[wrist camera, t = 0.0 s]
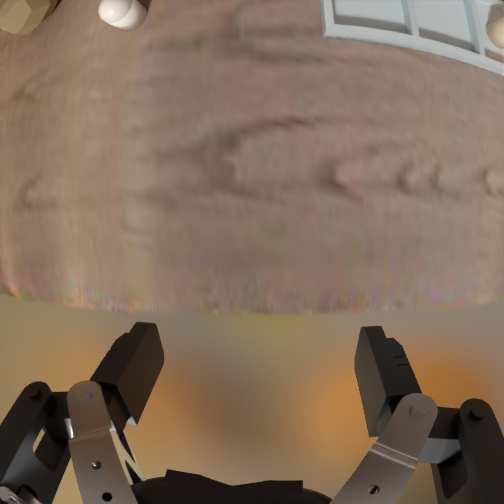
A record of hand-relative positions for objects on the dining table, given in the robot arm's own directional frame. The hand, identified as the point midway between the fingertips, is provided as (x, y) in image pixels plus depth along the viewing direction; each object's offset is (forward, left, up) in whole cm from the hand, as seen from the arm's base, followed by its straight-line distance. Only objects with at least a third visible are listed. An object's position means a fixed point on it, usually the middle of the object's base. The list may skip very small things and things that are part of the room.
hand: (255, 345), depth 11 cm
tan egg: (-26, +35, -28) cm, 52 cm away
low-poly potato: (-36, -37, -30) cm, 60 cm away
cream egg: (-26, -18, -29) cm, 43 cm away
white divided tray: (-26, +24, -29) cm, 46 cm away
